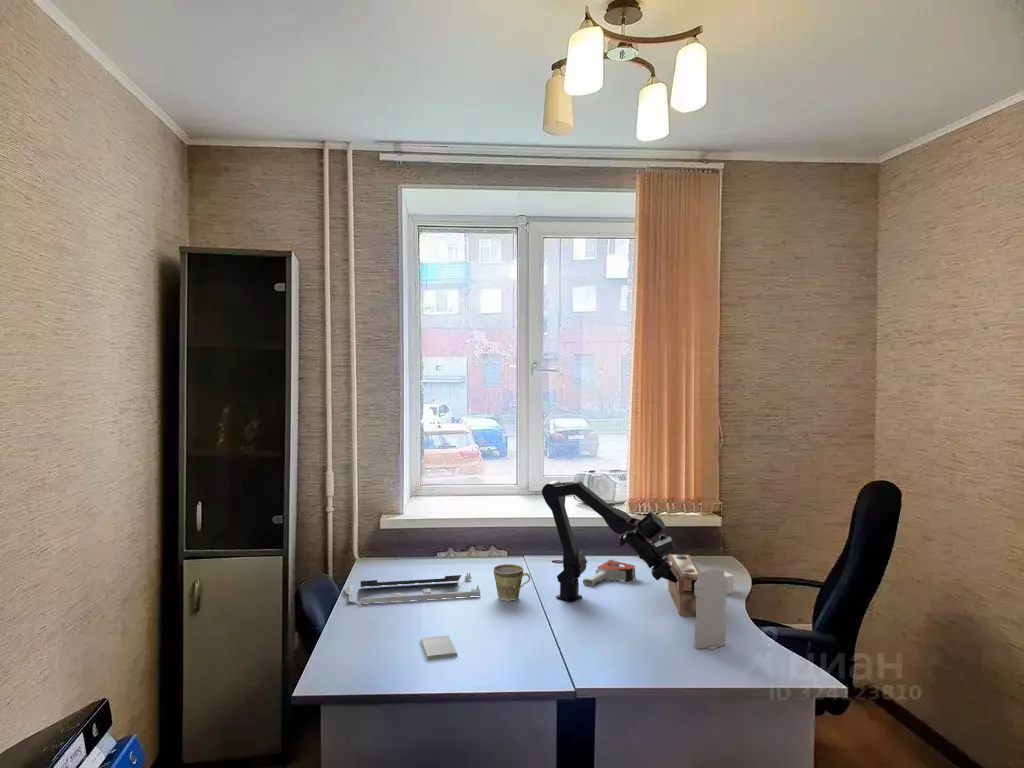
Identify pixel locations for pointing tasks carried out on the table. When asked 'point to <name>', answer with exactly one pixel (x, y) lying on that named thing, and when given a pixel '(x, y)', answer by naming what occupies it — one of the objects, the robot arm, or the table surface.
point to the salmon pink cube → (685, 584)
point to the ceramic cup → (509, 581)
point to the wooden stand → (685, 571)
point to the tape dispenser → (611, 572)
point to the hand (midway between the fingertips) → (676, 581)
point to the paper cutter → (423, 596)
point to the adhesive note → (729, 581)
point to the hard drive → (438, 647)
